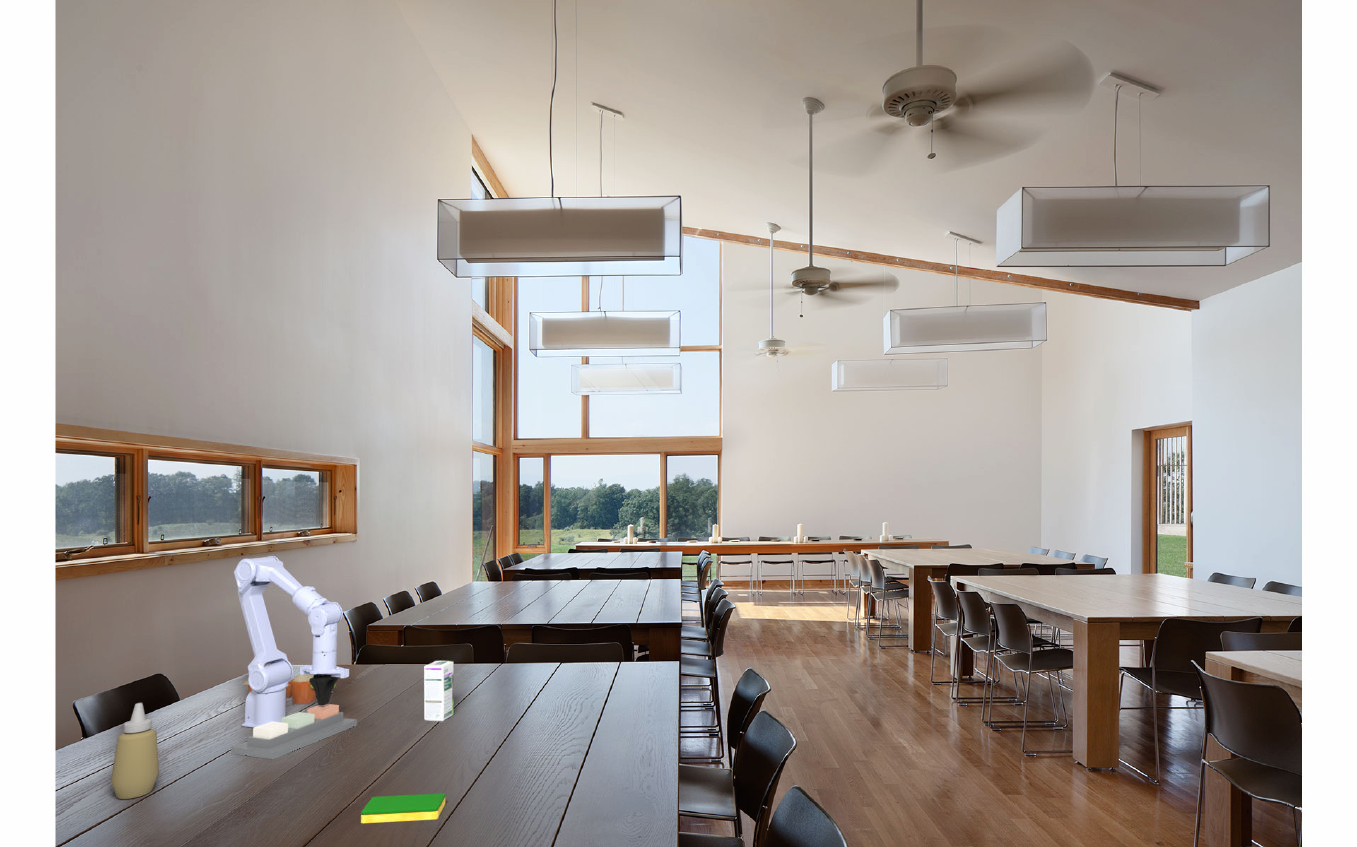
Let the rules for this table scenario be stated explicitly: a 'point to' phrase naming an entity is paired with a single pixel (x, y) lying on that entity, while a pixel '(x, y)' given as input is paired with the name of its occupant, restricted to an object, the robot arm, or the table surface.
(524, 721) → the table surface
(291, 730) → the stepped grey tray
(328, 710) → the terracotta key
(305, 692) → the toy tea set
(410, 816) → the dish sponge
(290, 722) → the sage key
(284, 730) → the cream key
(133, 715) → the squeeze bottle
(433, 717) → the syrup box
